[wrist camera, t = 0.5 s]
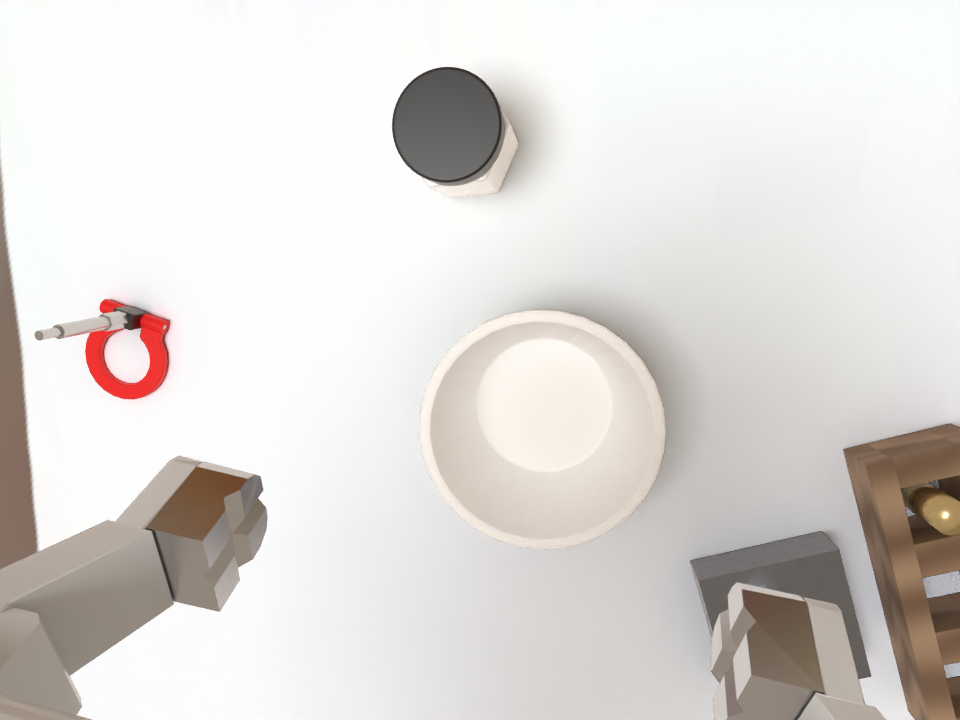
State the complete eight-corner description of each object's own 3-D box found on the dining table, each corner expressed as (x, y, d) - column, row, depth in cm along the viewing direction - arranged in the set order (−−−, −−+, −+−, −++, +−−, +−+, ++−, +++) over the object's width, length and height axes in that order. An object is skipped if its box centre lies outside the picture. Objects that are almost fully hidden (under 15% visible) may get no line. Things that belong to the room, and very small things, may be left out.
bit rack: (1012, 692, 62) (1050, 729, 57) (908, 711, 63) (937, 749, 58) (949, 423, 59) (984, 438, 54) (843, 449, 61) (867, 466, 56)
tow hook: (161, 408, 69) (180, 322, 67) (67, 448, 56) (87, 343, 54) (86, 380, 69) (103, 294, 67) (-23, 414, 57) (-7, 309, 55)
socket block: (852, 650, 63) (871, 676, 59) (722, 676, 65) (732, 703, 61) (821, 531, 62) (838, 549, 58) (689, 560, 64) (698, 580, 60)
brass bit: (928, 500, 60) (975, 531, 54) (895, 507, 61) (938, 539, 54) (921, 470, 60) (967, 497, 53) (888, 478, 61) (930, 506, 54)
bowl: (538, 257, 62) (533, 256, 51) (694, 400, 62) (720, 429, 51) (401, 407, 65) (370, 436, 55) (549, 543, 65) (546, 597, 55)
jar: (447, 84, 60) (418, 41, 48) (530, 121, 60) (522, 87, 48) (408, 179, 62) (371, 161, 50) (489, 216, 61) (471, 206, 50)
